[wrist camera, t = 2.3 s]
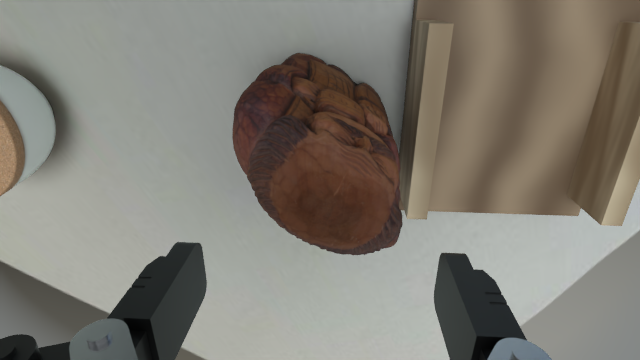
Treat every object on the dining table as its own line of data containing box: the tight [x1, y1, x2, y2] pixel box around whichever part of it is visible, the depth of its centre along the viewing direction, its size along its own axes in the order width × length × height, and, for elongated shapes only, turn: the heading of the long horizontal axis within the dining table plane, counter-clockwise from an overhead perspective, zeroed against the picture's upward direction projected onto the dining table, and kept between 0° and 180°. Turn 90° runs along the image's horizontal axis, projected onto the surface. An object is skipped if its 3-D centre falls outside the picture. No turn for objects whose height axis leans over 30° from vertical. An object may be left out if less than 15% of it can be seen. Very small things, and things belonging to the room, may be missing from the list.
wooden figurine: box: [233, 53, 402, 255], centre depth 25 cm, size 12×6×18 cm, turn 59°
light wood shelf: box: [399, 0, 640, 226], centre depth 30 cm, size 16×18×6 cm
